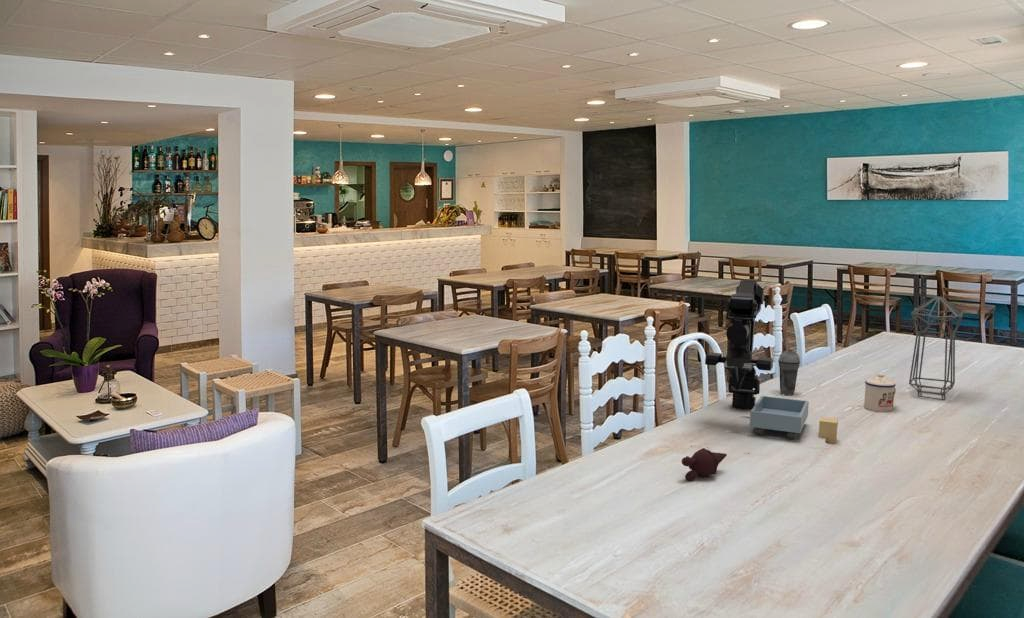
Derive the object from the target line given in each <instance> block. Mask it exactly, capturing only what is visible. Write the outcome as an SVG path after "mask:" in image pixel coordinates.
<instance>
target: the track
mask: <svg viewBox="0 0 1024 618" xmlns="http://www.w3.org/2000/svg"><path fill="white" fill-rule="evenodd" d="M735 417H736V418H742V419H750V416H744V415H738V414H737V415H735ZM804 426H806V424H804ZM724 432H725V433H733V434H740V435H747V436H756V437H761V438H762V437H763V438H769V439H777V440H784V441H792V442H799V439H796V438H795V439H794V440H790V439H789V438H788V437H781V436H773V435H767V434H766V435H765V434H761V435H756V434H755V433H752V432H744V431H735V430H728V429H725V430H724Z"/></svg>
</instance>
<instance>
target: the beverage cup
mask: <svg viewBox="0 0 1024 618" xmlns="http://www.w3.org/2000/svg"><path fill="white" fill-rule="evenodd" d="M785 338H786V339H785V340H786V350H783V351H782V352H781V353H780V354H779V357H778V360H777V361H778V368H779V391H780V392H779V393H781V394H780V395H782V394H784V395H783V396H788V395H791V396H794V395H795V390H796V385H797V384H796V383H797V377H798V372H799V371H798V370H799V367H800V364H801V361H800V356H799V354H798V353H797V352H796V351H795V350H791V349H789V338H788V337H785Z"/></svg>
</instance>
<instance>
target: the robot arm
mask: <svg viewBox="0 0 1024 618" xmlns="http://www.w3.org/2000/svg"><path fill="white" fill-rule="evenodd" d="M727 299H728V300H727V306H726V314H725V315H726V316H725V320H728V321H729V320H731V321H730V325H729V326H728V328H727V330H726V332H725V334H726V338H727V339H728V341H729V347H728V350H727V353H726V356H723V354H722V352H720V353H719V352H709V353H708V354H707V355H706V356H705V358H704V364H705V365H706V366H707V365H708V366H716V365H718V364H719V363H721V364H724V365H725V366H724V369H725V370H728V372H729V393H732V401H731V406H732V407H731V408H733V409H736V410H743V411H747V410H748V411H749V410H750V411H751V410H752V408H753V407H754V406H755V404H756V403H757V397H756V396H757V395H760V390H761V389H760V386H761V385H760V383H761V381H760V379H759V376H758V375H757V370H756V368H757V369H758V370H759V371H766V372H767V371H768V372H770V371H771V370H772V369H773V368H774V359H773V358H771V357H765V356H764V357H763V356H759V357H758V358H757V359H753V351H754V338H755V327H756V326H755V325H756V318H757V316H758V314H759V313H760V312H761V311H762V305H764V301H765V292H764V288H763V287H762V286H761V285H759V284H758V280H755V279H742V280H741V279H740V283H739V284H738V286H736V289H735V293H733V294H731V296H730V298H727ZM755 367H756V368H755Z"/></svg>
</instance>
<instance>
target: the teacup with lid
mask: <svg viewBox="0 0 1024 618" xmlns="http://www.w3.org/2000/svg"><path fill="white" fill-rule="evenodd" d="M864 384H865V386H864V387H865V389H864V402H863V407H864V409H866V410H869V411H873V412H880V413H888V412H892V411H893V409H894V401H895V395H896V393H897V392H896V391H897V389H896V382H895V381H893V379H892V380H891V379H889V378H888V377H886V376H885V374H884V373H882V372H881V373H880V372H879V373H877V375H876V376H873V377H870V378H867V379H865V381H864Z"/></svg>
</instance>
